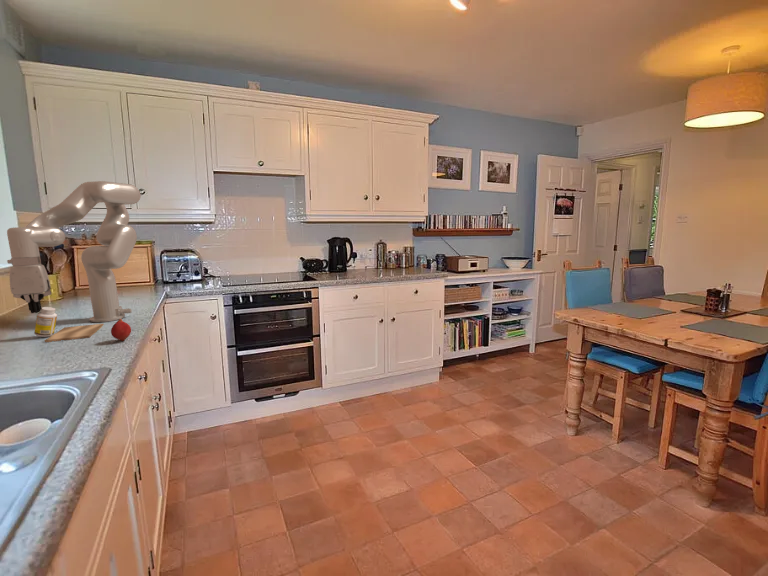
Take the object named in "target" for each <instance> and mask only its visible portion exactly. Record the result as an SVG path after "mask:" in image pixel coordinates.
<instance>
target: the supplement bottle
mask: <svg viewBox="0 0 768 576" xmlns="http://www.w3.org/2000/svg"><path fill="white" fill-rule="evenodd" d="M57 317H58V314H57V313H56V308H55V307H50V306H44V307H43V306H41V310H40V312H38V313H36V321H35V328H34V335H35V336H36V337H41V338H42V337H43V338H44V337H45V338H47V337H48V338H49V337H51V336H52V335H54V334H55V329H56V323H57V319H58V318H57Z"/></svg>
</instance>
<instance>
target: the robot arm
mask: <svg viewBox="0 0 768 576" xmlns="http://www.w3.org/2000/svg"><path fill="white" fill-rule="evenodd" d="M140 199H141V191H140V190H139V188H138V187H137V186H135V185H133V184H130V183H123V182H113V181H105V180H101V181H100V180H96V181H86V182H82V183H81V184H80V185H79V186H78V187H77V186H76V188H75V189H73V191H72V192H71V193H70V194H69V195H68V196H67V197H65V199H63V201H61V202H60V203H59V204H57V205H54V206H53V207H51V208H50V209H48V210H46V211H44V212H42V213H41V214H39V215H38V216H36V217H35V218H34V219H32V221H31V222H29V223H28V224H27V225H26V226H24V227H21V226H19V227H9V228H8V229H7V230H6V233H7V234H6V235H7V240H8V246H9V251H10V255H11V256H10V257H11V258H10V259H8V260H6V262H7V264H11V266H10V267H9V287H10V292H11V294H12V296H13V298H15V299H22V300H23V301H25V302H26V303H27V304H28V310H29V311H30V313H31V314H34V313H35V314H38V313H39V312H41V308H42V304H41V301H42V299H44V297H48V296H50V295H52V294H53V293H52V291H51V289H52V288H51V286H52V285H51V283H50V277H49V275H48V272H47V269H46V267H45V265H44V264H42V260H41V254H40V253H41V252H40V250H39V247H45V248H46V247H48V248H49V247H51V248H52V247H57V246H61V245H62V244H63V243H64V242H65V240H66V234H65V231H63V230H62V229H61V227H64V226H67V225H70V224H72V223H73V224H74V223H76V222H78V221H81V220H83V219H84V218H85V217H86V216H87V215H88V214H89V212H91V211H92V209H94V208H95V206H96V205H97V204H100V203H103V204H104V206H105V209H106V214H105V217H104V219H103V221H102V223H101V224H100V226H99V228H98V231H97V232H96V236H95V237H96V241H97V242H98V244H100V245H93V246H88V247H86V248H85V249H84V250H83V251H82V253H81V256H80V257H81V262H82V266H83V267H84V270H85V273H86V277H87V283H88V289H89V295H90V296H89V297H90V303H91V308H92V315H93V316H91V317H89V322H90V323H106V322H113V321H118V320H119V319H124V318H125V317H126V314H131V313H132V308H128V307H127V308H123V306H121V305H120V302H119V301H120V300H119V295H118V294H119V293H118V288H117V281H116V280H117V279H116V276H115V274H114V272H113V270H114V269H115V270H116V269H120V268H122V267H124V266H125V265H126V263H127V262H128V260H129V258H130V256H131V254H132V252H133V249H135V246H136V242H137V239H138V236H137V232H136V230H135V229H134V227H132V226H131V225H128V224H129V221H130V215H129V214H130V213H129V212H128V209H127V208H126V205H135V204H137V203H138V202H140Z"/></svg>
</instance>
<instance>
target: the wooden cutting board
mask: <svg viewBox="0 0 768 576" xmlns="http://www.w3.org/2000/svg"><path fill="white" fill-rule="evenodd" d="M103 325H104V323H94V324H85V325H75V326H64V327H63V328H61V329H60V330H58V331H57V332H54V334H53V335H52V336H49V337H48V338H46V339H44V342H45V343H53V342H52V341H54V342H62V341H61V340H64V341H70V340H71V341H73V340H80V339H81V340H82V339H88V338H89V339H90V338H91V337H92V336H93V335H94V334H95V333H97V332H98V331H99V330H100V329H102V328H103V327H104V326H103ZM102 326H103V327H102ZM72 339H73V340H72Z"/></svg>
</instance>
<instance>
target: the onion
mask: <svg viewBox="0 0 768 576" xmlns="http://www.w3.org/2000/svg"><path fill="white" fill-rule="evenodd" d="M111 327H112V328H111V330H110V334H111V336H112V337H113V338H115V339H116V340H118V341H121V342H124V341H126V340H127V338H129V336H130V335H131V333H132V328H131V325H130V324H128V322H125V321H123V318H121V319H118V320H116V322H115V323H113V325H112V326H111Z"/></svg>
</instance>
